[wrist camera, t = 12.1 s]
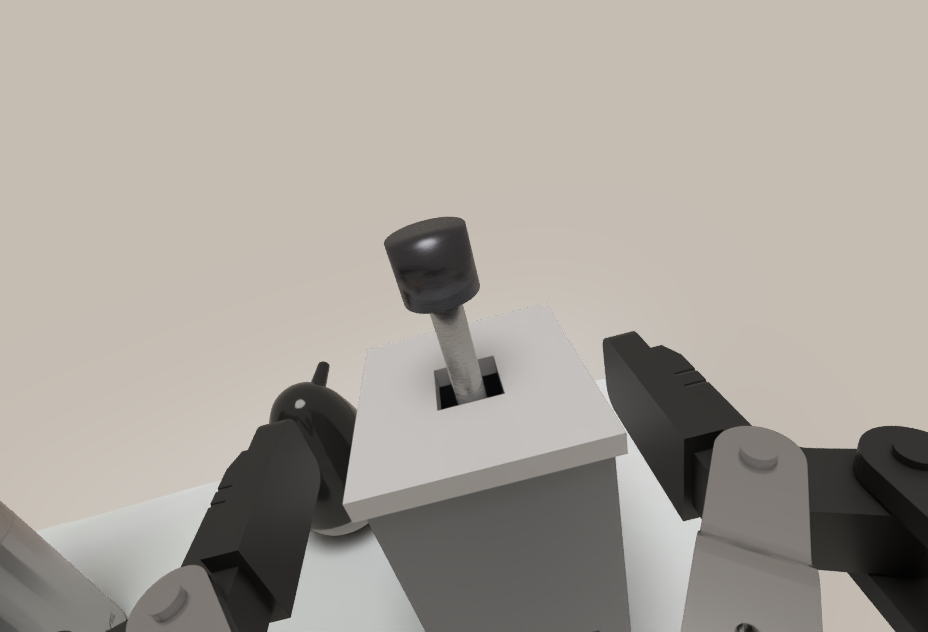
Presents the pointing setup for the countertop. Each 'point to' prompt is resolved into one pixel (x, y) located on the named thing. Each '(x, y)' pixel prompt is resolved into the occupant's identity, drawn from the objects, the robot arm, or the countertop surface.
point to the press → (494, 482)
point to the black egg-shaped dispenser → (323, 444)
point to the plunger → (441, 292)
